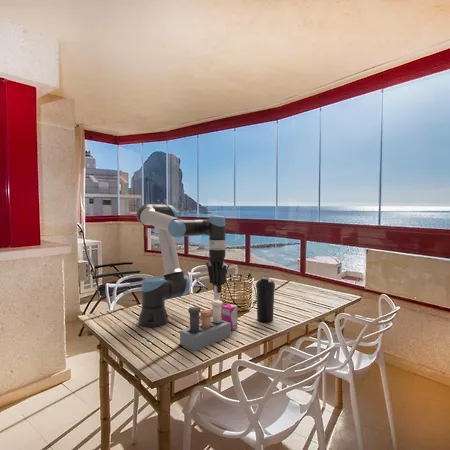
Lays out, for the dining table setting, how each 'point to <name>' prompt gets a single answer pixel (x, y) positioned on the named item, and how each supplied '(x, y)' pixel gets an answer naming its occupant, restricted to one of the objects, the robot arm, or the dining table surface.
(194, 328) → the black plug
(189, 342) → the socket block
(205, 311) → the terracotta plug
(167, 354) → the dining table surface
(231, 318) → the supplement box
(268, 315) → the water bottle
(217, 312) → the cream plug
